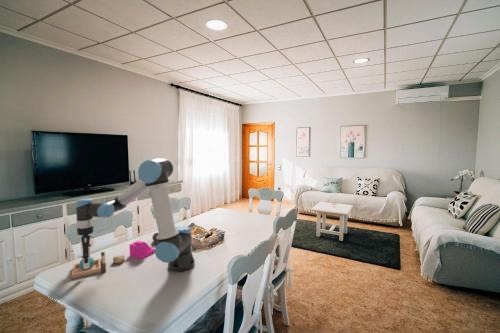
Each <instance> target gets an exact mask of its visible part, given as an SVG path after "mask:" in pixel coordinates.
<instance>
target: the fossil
mask: <svg viewBox="0 0 500 333" xmlns="http://www.w3.org/2000/svg"><path fill="white" fill-rule="evenodd" d="M158 234H159V233H158V232H155V233H154V234H153V235H152V241H153V242H152V243H153V244H154V245H156V246H157V245H158V243H157V239H156V237H157V236H158Z"/></svg>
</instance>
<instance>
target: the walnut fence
mask: <svg viewBox="0 0 500 333" xmlns="http://www.w3.org/2000/svg"><path fill="white" fill-rule="evenodd" d="M105 252H106V251H101V253H100V256H101V258H100V259H101V273H103V274H105V273H107V267H106V266H107V264H106V263H107V262H105V261H106V258H105V257H106V254H105Z"/></svg>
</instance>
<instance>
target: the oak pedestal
mask: <svg viewBox="0 0 500 333" xmlns="http://www.w3.org/2000/svg"><path fill="white" fill-rule="evenodd" d="M112 261H113V264H114V265H121V264H124V262H125V255H123V254H119V255H115V256H113V258H112Z"/></svg>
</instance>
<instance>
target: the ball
mask: <svg viewBox="0 0 500 333" xmlns="http://www.w3.org/2000/svg"><path fill="white" fill-rule="evenodd" d="M94 260H95V259H94V258H92V257H91V256H90V257H89V266H90V268H92V267H93V265H94ZM78 263H79V266H80V268H81V269H82V270H89V269H90V268H87V269H83V258H81V260H80V261H79V262H78Z"/></svg>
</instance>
